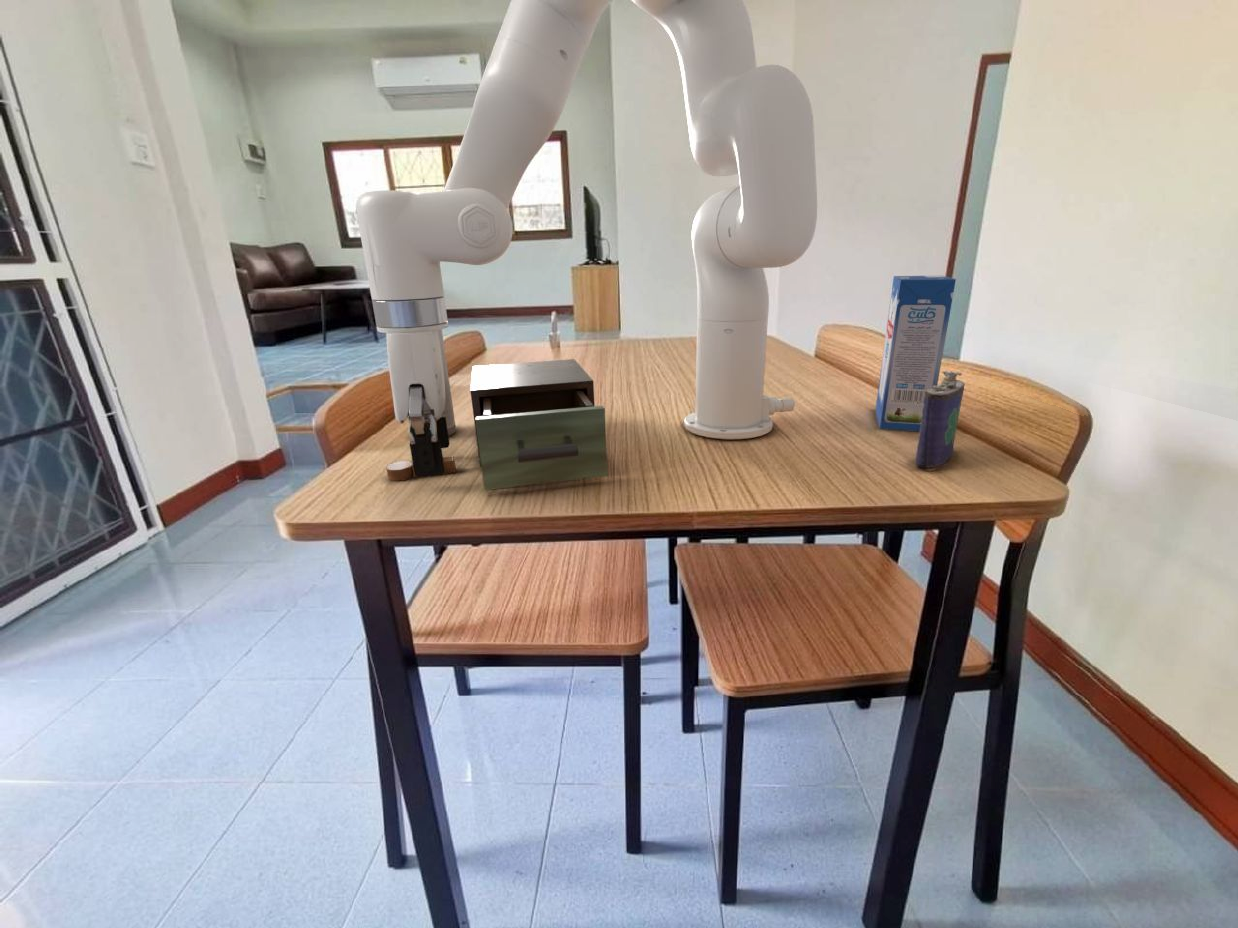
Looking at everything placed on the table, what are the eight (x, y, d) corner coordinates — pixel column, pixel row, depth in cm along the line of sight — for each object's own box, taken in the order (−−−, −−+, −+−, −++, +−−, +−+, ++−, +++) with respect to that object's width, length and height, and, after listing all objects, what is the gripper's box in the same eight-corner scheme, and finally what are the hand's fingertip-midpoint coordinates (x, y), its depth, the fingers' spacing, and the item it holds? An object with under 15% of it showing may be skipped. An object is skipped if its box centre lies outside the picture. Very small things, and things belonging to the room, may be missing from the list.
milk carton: (875, 410, 88) (893, 276, 80) (919, 413, 86) (942, 275, 78) (879, 428, 79) (900, 279, 72) (929, 432, 77) (956, 279, 70)
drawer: (617, 492, 58) (614, 420, 56) (484, 509, 56) (474, 433, 53) (585, 437, 76) (582, 380, 74) (484, 447, 74) (476, 389, 71)
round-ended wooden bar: (455, 466, 70) (454, 454, 70) (454, 474, 67) (452, 462, 67) (390, 473, 69) (388, 461, 68) (386, 482, 66) (384, 469, 65)
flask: (932, 447, 71) (947, 363, 67) (958, 451, 69) (975, 365, 65) (909, 468, 65) (924, 376, 61) (937, 473, 63) (955, 380, 59)
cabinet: (597, 455, 72) (593, 380, 69) (480, 467, 69) (470, 390, 66) (578, 422, 87) (574, 359, 83) (480, 431, 84) (472, 366, 80)
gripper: (387, 310, 69) (409, 442, 75) (359, 326, 53) (390, 491, 59) (450, 307, 70) (467, 436, 76) (441, 322, 55) (463, 483, 61)
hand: (433, 460), depth 68 cm, fingers open, 9 cm apart
